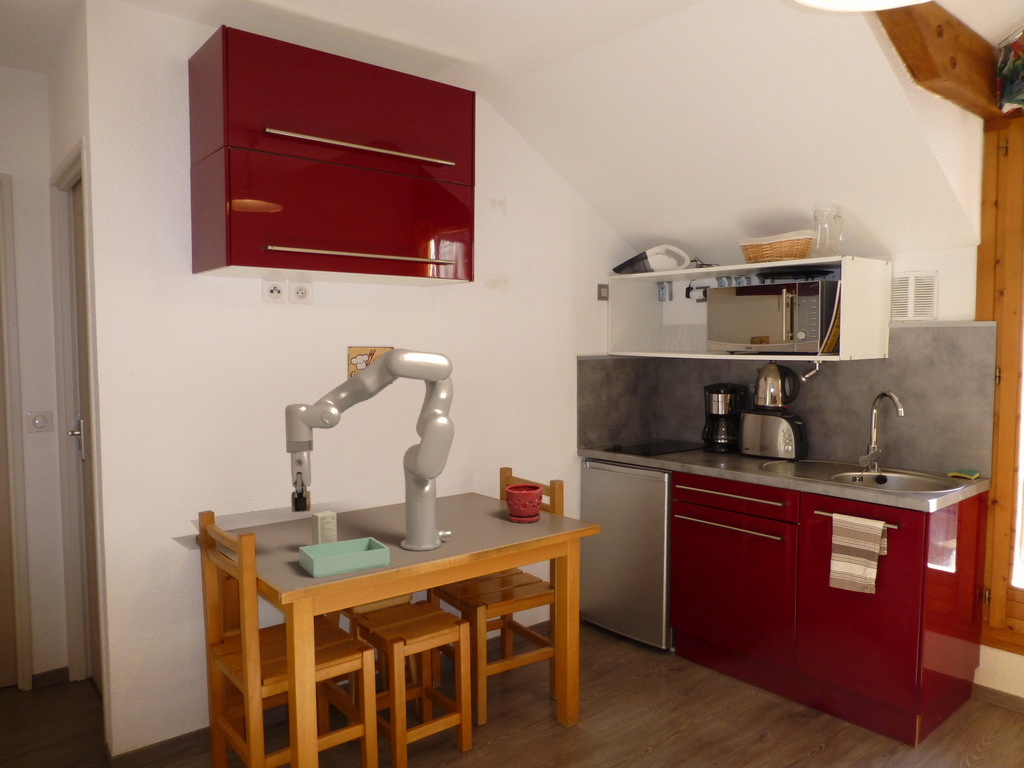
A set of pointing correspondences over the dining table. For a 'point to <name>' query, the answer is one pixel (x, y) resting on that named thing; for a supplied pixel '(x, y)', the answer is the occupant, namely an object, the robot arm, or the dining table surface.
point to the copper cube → (307, 495)
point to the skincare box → (324, 527)
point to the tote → (343, 557)
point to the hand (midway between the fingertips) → (301, 508)
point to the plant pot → (524, 502)
